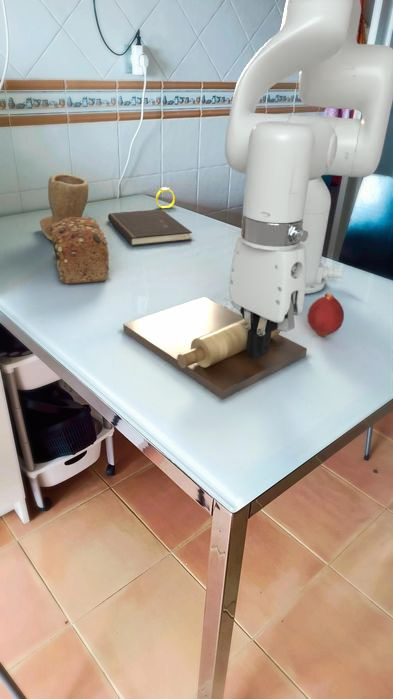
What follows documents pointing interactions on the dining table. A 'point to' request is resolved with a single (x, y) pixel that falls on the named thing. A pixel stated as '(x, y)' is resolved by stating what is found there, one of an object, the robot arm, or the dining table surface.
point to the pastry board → (202, 318)
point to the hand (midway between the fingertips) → (257, 353)
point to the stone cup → (64, 199)
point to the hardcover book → (149, 227)
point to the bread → (80, 250)
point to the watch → (165, 191)
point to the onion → (325, 315)
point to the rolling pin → (217, 345)
